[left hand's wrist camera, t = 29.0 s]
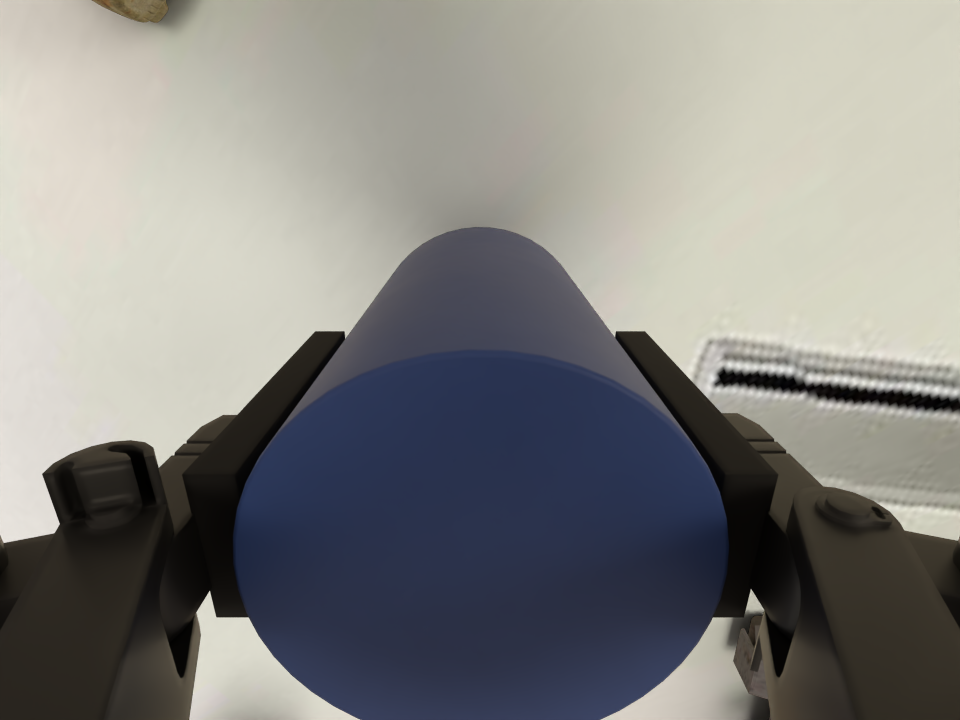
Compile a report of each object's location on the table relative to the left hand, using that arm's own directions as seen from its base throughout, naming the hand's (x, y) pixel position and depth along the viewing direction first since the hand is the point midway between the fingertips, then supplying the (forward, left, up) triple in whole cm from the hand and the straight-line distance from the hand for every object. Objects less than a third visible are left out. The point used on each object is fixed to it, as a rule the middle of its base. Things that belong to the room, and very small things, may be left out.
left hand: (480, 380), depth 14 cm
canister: (0, 0, -4) cm, 4 cm away
